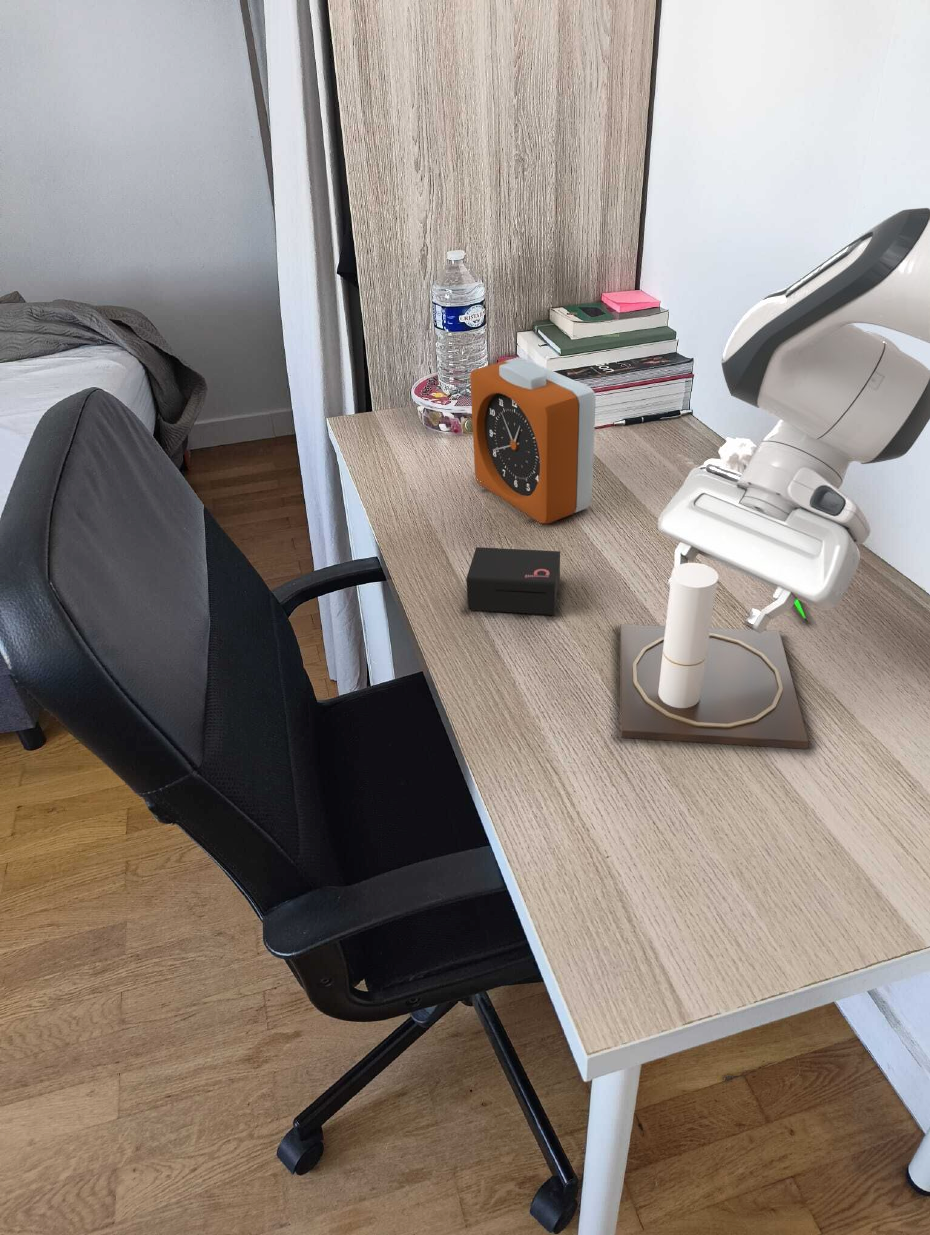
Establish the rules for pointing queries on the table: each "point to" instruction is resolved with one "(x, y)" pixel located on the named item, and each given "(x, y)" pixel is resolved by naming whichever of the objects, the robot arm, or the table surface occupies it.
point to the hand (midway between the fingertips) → (712, 608)
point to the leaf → (799, 608)
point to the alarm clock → (533, 438)
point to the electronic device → (514, 580)
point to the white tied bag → (735, 454)
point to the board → (713, 691)
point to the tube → (687, 633)
